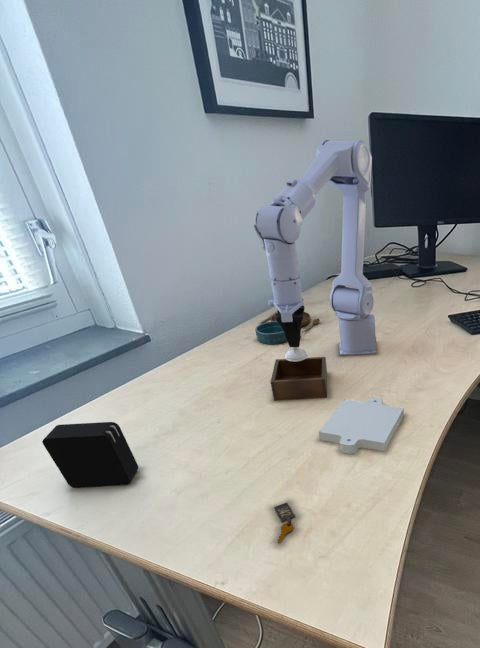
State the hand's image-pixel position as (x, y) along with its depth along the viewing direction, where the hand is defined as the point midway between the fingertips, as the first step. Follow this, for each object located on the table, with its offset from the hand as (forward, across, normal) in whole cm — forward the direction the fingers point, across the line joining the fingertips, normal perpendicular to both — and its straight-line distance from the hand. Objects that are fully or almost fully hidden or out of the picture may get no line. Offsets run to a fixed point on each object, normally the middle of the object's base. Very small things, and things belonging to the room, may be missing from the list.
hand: (295, 344), depth 94 cm
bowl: (+10, -30, -9) cm, 33 cm away
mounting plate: (+10, +20, +13) cm, 26 cm away
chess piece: (+3, 0, 0) cm, 3 cm away
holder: (+10, +1, 0) cm, 10 cm away
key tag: (+10, +45, -1) cm, 46 cm away
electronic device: (+10, +31, -32) cm, 45 cm away
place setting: (+10, -46, -4) cm, 47 cm away
